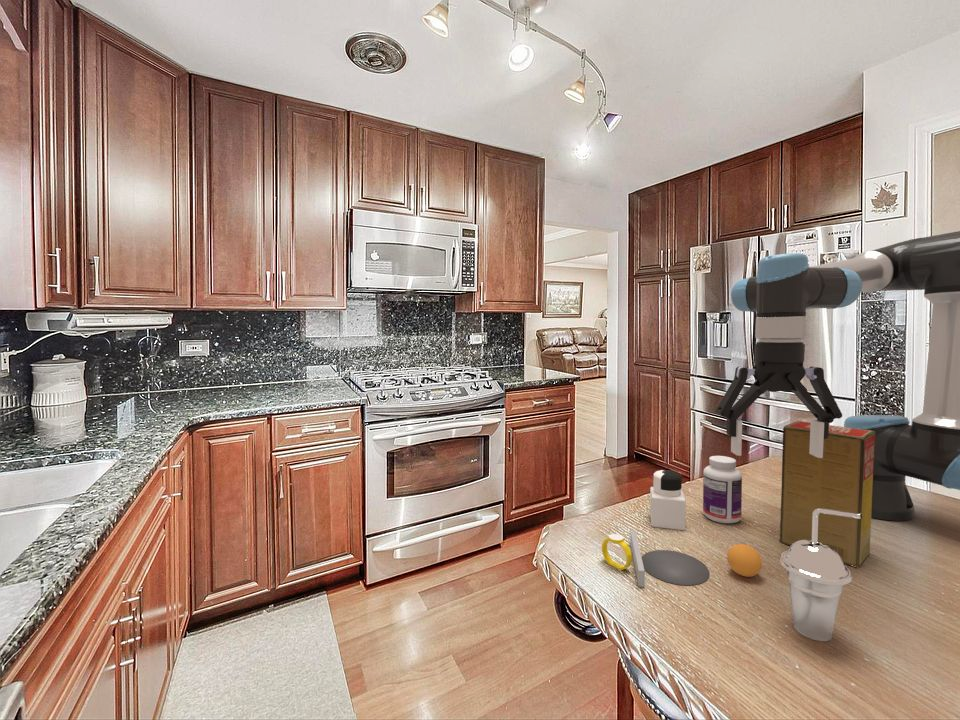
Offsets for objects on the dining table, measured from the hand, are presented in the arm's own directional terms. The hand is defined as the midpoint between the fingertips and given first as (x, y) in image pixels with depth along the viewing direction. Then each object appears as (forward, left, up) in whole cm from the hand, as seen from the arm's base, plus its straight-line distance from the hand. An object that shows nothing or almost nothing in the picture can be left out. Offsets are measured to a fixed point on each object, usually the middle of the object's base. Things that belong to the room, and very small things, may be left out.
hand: (775, 454), depth 81 cm
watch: (+29, +5, -22) cm, 37 cm away
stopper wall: (+25, +4, -22) cm, 33 cm away
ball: (+6, +4, -19) cm, 20 cm away
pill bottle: (+3, -21, -22) cm, 31 cm away
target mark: (+18, +4, -22) cm, 28 cm away
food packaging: (-13, -10, -22) cm, 28 cm away
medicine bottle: (+16, -16, -22) cm, 32 cm away
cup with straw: (+1, +18, -22) cm, 29 cm away
